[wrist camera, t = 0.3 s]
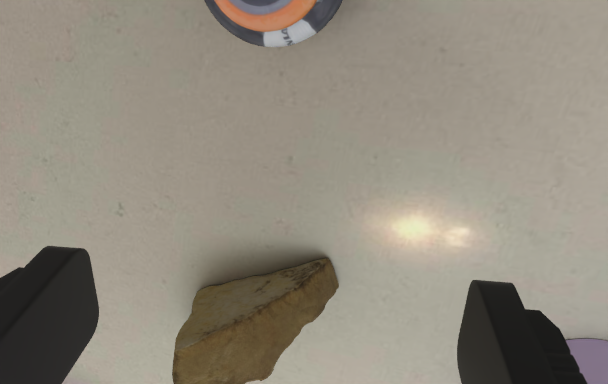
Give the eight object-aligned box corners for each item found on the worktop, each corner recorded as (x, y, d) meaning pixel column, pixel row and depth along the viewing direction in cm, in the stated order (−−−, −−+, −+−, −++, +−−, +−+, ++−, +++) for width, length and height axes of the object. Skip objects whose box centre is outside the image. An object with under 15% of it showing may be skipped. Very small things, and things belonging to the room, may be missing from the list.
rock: (353, 237, 31) (184, 229, 30) (362, 389, 27) (167, 386, 26) (323, 290, 41) (193, 286, 40) (326, 409, 37) (182, 408, 36)
